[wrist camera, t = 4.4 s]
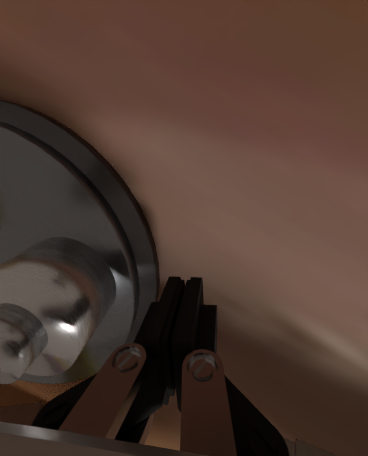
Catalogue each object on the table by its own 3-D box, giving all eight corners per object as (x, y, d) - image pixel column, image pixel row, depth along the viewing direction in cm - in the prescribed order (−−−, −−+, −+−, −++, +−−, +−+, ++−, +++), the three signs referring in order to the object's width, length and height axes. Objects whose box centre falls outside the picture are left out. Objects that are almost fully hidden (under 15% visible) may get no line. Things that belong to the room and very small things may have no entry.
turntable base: (136, 76, 12) (129, 71, 11) (172, 376, 20) (170, 387, 19) (-167, 115, 16) (-188, 114, 15) (-38, 353, 24) (-48, 361, 23)
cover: (106, 236, 13) (29, 300, 8) (123, 322, 15) (71, 416, 10) (14, 236, 14) (-106, 292, 9) (42, 316, 16) (-42, 398, 11)
